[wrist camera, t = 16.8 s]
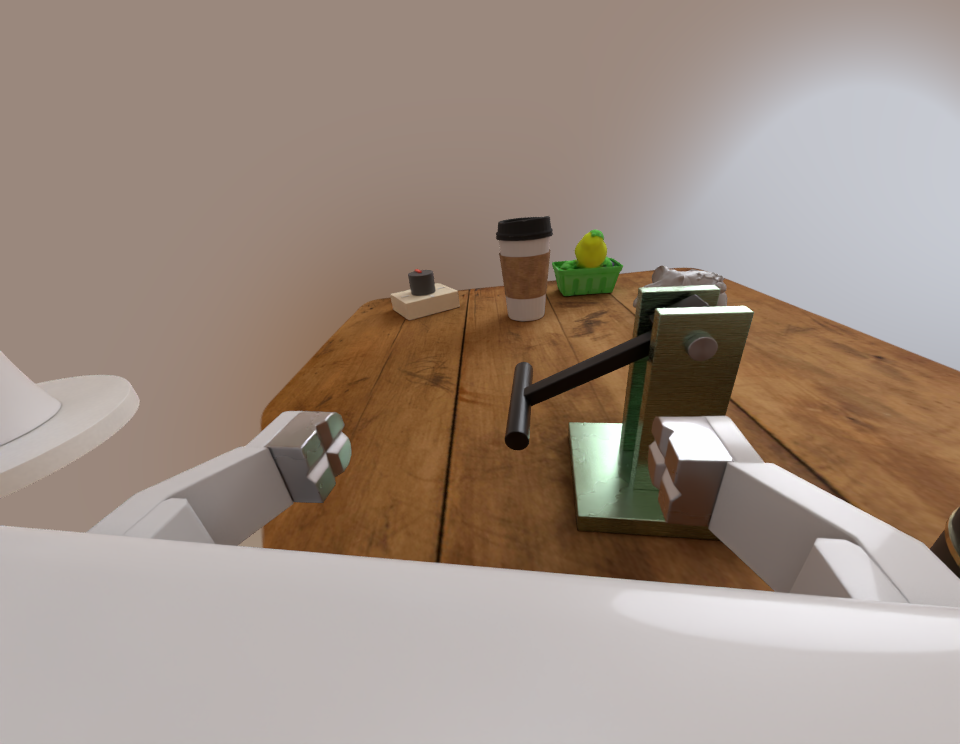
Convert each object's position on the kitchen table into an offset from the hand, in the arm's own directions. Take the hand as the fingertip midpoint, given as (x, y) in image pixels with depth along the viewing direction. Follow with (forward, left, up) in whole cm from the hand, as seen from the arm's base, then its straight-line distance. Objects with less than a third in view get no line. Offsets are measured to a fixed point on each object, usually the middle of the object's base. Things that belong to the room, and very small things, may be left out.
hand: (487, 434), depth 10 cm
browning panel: (+20, +56, -15) cm, 61 cm away
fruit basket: (+47, +42, -15) cm, 65 cm away
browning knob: (+20, +56, -12) cm, 61 cm away
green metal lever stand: (+16, +5, -15) cm, 23 cm away
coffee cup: (+31, +40, -15) cm, 53 cm away
